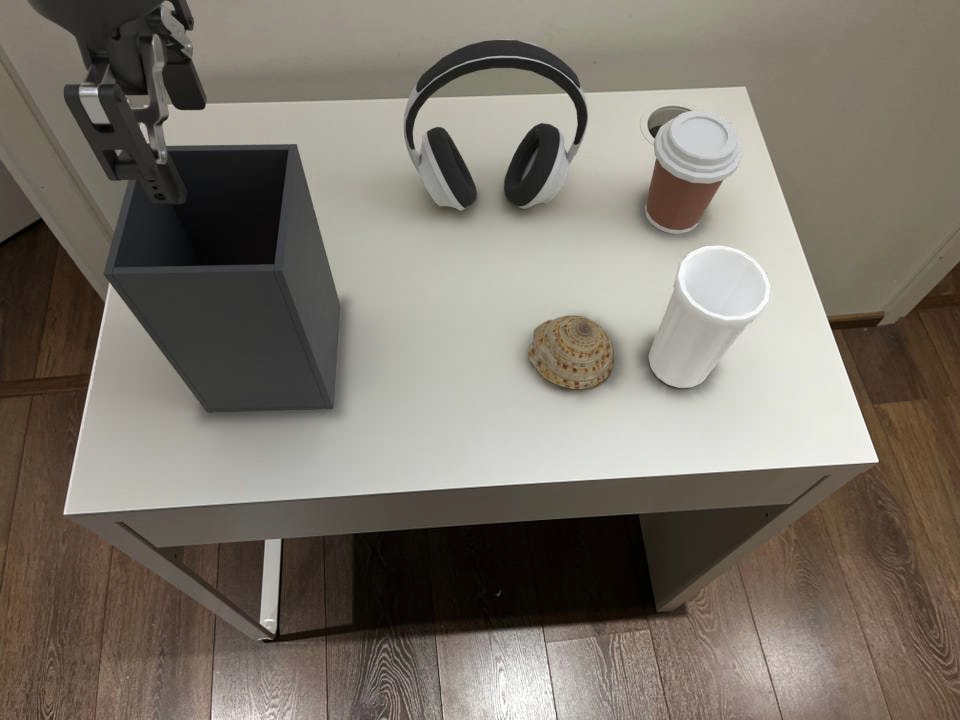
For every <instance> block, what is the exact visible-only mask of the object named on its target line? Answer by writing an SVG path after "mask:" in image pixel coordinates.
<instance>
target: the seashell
mask: <svg viewBox="0 0 960 720" xmlns="http://www.w3.org/2000/svg"><path fill="white" fill-rule="evenodd" d="M614 354H615V353H614V347H613V344H612V341H611V339H610V337H609V336H608V333H607V332H606V331H605V329H603V328H602V326H601V325H599V324H598V323H596V322H595V321H594V320H591V319H590V318H587V317H585V316H581V315H575V314H569V315H568V314H566V315H563V316H559V317H556V318H554V319H548V320H546V321H544V322H543V323H541V324H540V325H538V326H536V327H535V328H534V330H533V333H532V345H530V347H529V348H528V350H527V355H528V358H529V361H530V362H531V363H532V366H533V367H534V368H536V369H537V372H538V373H540V375H542V377H543V378H545V380H547V381H549V382H551V383H553V384H554V385H557V386H559V387H563V388H566V389H571V390H585V389H588V388H589V389H590V388H593V387H596V386H597V385H599V384H601V383H603V382H604V381H605V380H606V379H607V378H608V377H609V375H610V374H611V372H612V370H613V368H614V362H615V361H614V360H615V355H614Z"/></svg>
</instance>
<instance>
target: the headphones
mask: <svg viewBox="0 0 960 720" xmlns="http://www.w3.org/2000/svg"><path fill="white" fill-rule="evenodd" d="M490 69H515V70H522V71H526V72H532V73H535V74H537V75H538V76H542V77H544V78H546V79H547V80H550V81H552V82H553V83H554V84H555V85H557V86H558V88H559V87H560V89H562V90H563V91H564V92H565V93H566V94H567V95H568V97H569V98H570V100H571V101H572V103H573V105H574V108H575V111H576V112H575V113H576V123H577V124H576V130H575V135H574V139H573V142H572V143H571V145H570V147H569V149H568V151H567V149H566V146H565V137H564V136H565V135H564V133H563V132H562V131H561V130H560V129H559V128H558V127H556V126H554V125H553V124H551V123H544V122H540V123H538V124H536V125H533V127H532V128H531V129H530V130H528V132H527V133H526V134H525V135H524V137H523V138H522V140H521V141H520V143H519V144H518V146H517V147H516V150H515V152H514V154H513V155H512V158H511V160H510V163H509V165H508V167H507V170H506V173H505V175H504V182H503V192H504V196H505V197H506V198H507V200H508V201H509V202H510V203H511V204H512V205H514V206H515V207H516V208H520V209H530V208H531V207H534V206H535V205H537V204H545V203H550V202H551V201H552V200H553V199H554V198H556V196H557V195H558V194H559V192H560V191H561V189H562V188H563V186H564V184H565V182H566V179H567V176H568V175H569V169H570V164H571V163H572V161H573V160H574V159H575V156H576V155H577V153H578V151H579V149H580V147H581V145H582V143H583V141H584V138H585V135H586V131H587V128H588V123H589V122H588V121H589V110H588V109H589V107H588V102H587V97H586V95H585V93H584V91H583V88H582V87H581V83H580V81H579V77H578V74H576V73H575V72H574V70H573V69H572V67H570V66H569V65H568V64H567V63H566V62H564V60H562V59H561V58H560V57H559V56H557V55H556V54H554V53H552V52H550V51H549V50H548V49H546V48H544V47H541V46H539V45H537V44H535V43H532V42H527V41H522V40H518V39H512V38H504V39H503V38H500V39H497V38H496V39H486V40H480V41H476V42H473V43H470V44H467V45H464V46H461V47H459V48H457V49H455V50H453V51H451V52H449V53H447V54H445V56H443V57H442V58H440V59H439V60H438V61H436V62H435V63H434V64H432V65H431V66H430V67H429V68H428V69H427V70H426V71H425V72H424V73H422V74H421V75H420V77H419V79H418V81H417V82H416V84H415V85H414V87H413V89H412V90H411V93H410V94H409V97H408V100H407V101H406V102H407V103H406V106H405V109H404V114H403V138H404V143H405V146H406V149H407V152H408V156H409V158H410V161H411V163H412V164H413V166H414V168H415V170H416V171H417V173H418V174H419V176H420V179H421V182H422V183H423V186H424V187H425V189H426V191H427V193H428V194H429V196H430V197H431V199H432V200H433V201H434V203H435V204H436V205H438V206H439V207H450V208H454V209H456V210H458V211H464V210H466V209H468V208H469V207H470V206H471V205H473V204H474V203H475V201H476V200H477V197H478V190H477V186H476V183H475V181H474V178H473V176H472V174H471V172H470V170H469V169H468V166H467V164H466V162H465V160H464V158H463V156H462V154H461V153H460V150H459V149H458V147H457V146H456V143H455V142H454V140H453V138H452V137H451V135H450V133H449V132H448V131H447V130H446V128H445V127H442V126H435V127H431V128H430V129H429V130H427V131H426V132H424V133H423V134H422V138H421V145H420V148H419V150H418V151H417V149H416V147H415V141H414V128H415V122H416V119H417V116H418V114H419V111H420V110H421V108H422V107H423V106H424V104H425V103H426V102H427V101H428V99H429V98H430V97H431V96H433V95H434V94H435V93H436V92H437V91H439V90H440V89H441V88H443V87H445V86H446V85H448V84H449V83H450V82H452V81H454V80H456V79H458V78H460V77H462V76H466V75H468V74H472V73H475V72H479V71H486V70H490Z"/></svg>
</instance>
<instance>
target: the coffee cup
mask: <svg viewBox="0 0 960 720" xmlns="http://www.w3.org/2000/svg"><path fill="white" fill-rule="evenodd" d="M653 152H654V156H655V162H654V166H653V170H652V176H651V179H650V184H649V189H648V193H647V198H646V203H645V205H644V210H645V211H644V212H645V216H646V218H647V219H648V221H649V224H651V225H652V226H654V228H656V229H658V230H659V231H663V232H665V233H667V234H674V235H675V234H676V235H681V234H685V233H689V232H691V231H692V230H693V229H695V228H696V227H697V226H698V224H699V223H700V220H701V218H702V217H703V215H704V213H706V210H707V208H709V205H710V203H711V202H712V200H713V199H714V197H715V195H716V193H717V192H718V190H719V188H720V187H721V185H722V183H723V182H724V181H725V180H727V179H728V178H729V177H731V176H732V175H733V174H735V172H737V170H738V168H739V165H740V162H741V160H742V157H743V150H742V144H741V141H740V140H739V138H738V133H737V130H736V129H735V127H734V126H733V125H732V123H731V122H730V121H729V120H727V119H726V118H724V117H723V116H721V115H720V114H718V113H714V112H711V111H708V110H695V109H694V110H690V111H685V112H682V113H680V114H678V115H676V117H674V118H671V119H669V121H667V122H666V123H664V124H663V125H661V126H660V127H659V129H658V131H657V133H656V135H655V137H654V140H653Z"/></svg>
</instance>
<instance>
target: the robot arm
mask: <svg viewBox="0 0 960 720" xmlns="http://www.w3.org/2000/svg"><path fill="white" fill-rule="evenodd" d="M165 1H167V2H170V3H171V4H172V6H173V9H170V8H169V7H167V6H166V5H165V4H163V3H164V2H165ZM26 2H27V3H28V4H29V6H30V7H31V8H32V9H33V10H34V11H35V12H36V13H37V14H38V15H39V16H41V17H42V18H44V19H45V20H47V21H49V22H51V23H54V24H55V25H57V26H58V27H61V29H64V30H65V31H66V32H68V33H70V34H71V35H72V36H73V37H74V38H75V41H76V44H77V46H78V49H79V52H80V56H81V59H82V64H83V66H84V68H85V70H86V72H87V73H86V75H85V78H84V81H83V83H67V84H65V85H64V87H63V99H64V102H65V104H66V106H67V108H68V109H69V111H70V113H71V115H72V117H73V119H74V120H75V122H76V124H77V126H78V128H79V129H80V131H81V133H82V135H83V136H84V138H85V140H86V141H87V142H86V143H88V145H89V147H90V149H91V150H92V152H93V154H94V156H95V158H96V159H97V161H98V163H99V165H100V166H101V168H102V170H103V172H104V174H105V175H106V177H107V179H108V180H109V181H112V182H115V181H116V182H120V181H128V180H139V181H140V183H141V185H142V187H143V188H144V190H145V192H146V194H147V196H148V197H149V199H150V201H151V202H152V203H153V204H160V205H163V204H184V203H185V202H186V198H187V193H188V192H187V189H186V187H185V185H184V183H183V181H182V179H181V177H180V175H179V173H178V171H177V169H176V167H175V165H174V163H173V161H172V159H171V156H170V154H169V153H168V152H167V149H166V146H167V143H166V138H165V133H164V132H165V131H164V127H163V126H164V125H163V124H164V123H165V122H167V120H168V119H169V117H170V111H169V104H168V100H167V95H168V97H169V100H170V102H171V104H172V106H173V107H174V108H175V109H176V110H179V111H203V110H205V108H206V106H207V102H208V101H207V100H208V99H207V98H208V97H207V95H206V91H205V90H204V87H203V84H202V82H201V79H200V76H199V74H198V71H197V69H196V67H195V64H194V61H193V58H192V57H193V55H194V46H193V43H192V41H191V39H190V37H189V36H188V35H187V32H188V31H189V32H190V31H194V25H195V19H194V16H193V14H192V11H191V9H190V6H189V3H188V2H187V0H26ZM166 93H167V95H166ZM126 96H130V97H131V96H148V98H149V102H148V105H147V107H132V106H133V102H132V99H130V97H126ZM139 123H140V124H143V125H144V126H145V128H146V132H147V137H148V142H147V140H146V137H145V135H144V133H143V131H142V129H141V127H140V125H139Z"/></svg>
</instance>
